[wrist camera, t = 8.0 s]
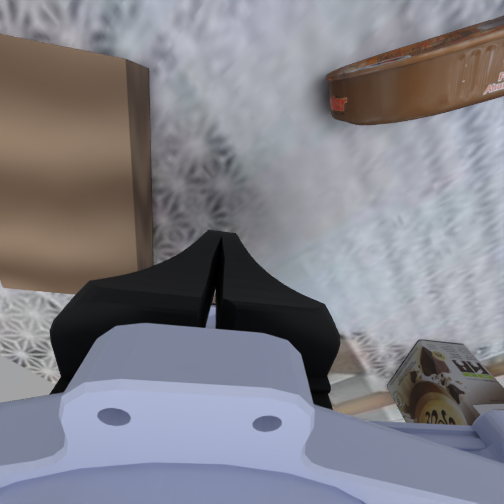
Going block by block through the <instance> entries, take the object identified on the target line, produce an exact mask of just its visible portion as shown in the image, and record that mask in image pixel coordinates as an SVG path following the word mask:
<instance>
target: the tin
mask: <svg viewBox="0 0 504 504" xmlns="http://www.w3.org/2000/svg"><path fill="white" fill-rule="evenodd" d="M326 79H327V80H328V84H329V95H330V107H331V113H332V116H333V117H334V118H335V119H337V120H340V121H345V122H349V123H351V124H355V125H376V124H387V123H395V122H402V121H408V120H414V119H419V118H423V117H428V116H433V115H437V114H441V113H445V112H449V111H453V110H456V109H460V108H463V107H467V106H470V105H474V104H478V103H481V102H485V101H488V100H492V99H495V98H499V97H502V96H504V16H502V17H499V18H496V19H493V20H489V21H486V22H482V23H479V24H476V25H472V26H469V27H467V28H463V29H460V30H456V31H453V32H450V33H447V34H444V35H441V36H438V37H434V38H431V39H428V40H425V41H422V42H418V43H415V44H412V45H409V46H406V47H402V48H399V49H396V50H393V51H390V52H386V53H383V54H380V55H377V56H374V57H371V58H368V59H364V60H362V61H359V62H356V63H353V64H350V65H347V66H345V67H342V68H339V69H337V70H335V71H333V72H331V73H329V74H328V75H327V76H326Z"/></svg>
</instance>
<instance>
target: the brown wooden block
mask: <svg viewBox="0 0 504 504" xmlns="http://www.w3.org/2000/svg"><path fill="white" fill-rule="evenodd" d="M151 266H153V227H152V183H151V140H150V96H149V68H146V67H144V66H141V65H139V64H137V63H134V62H132V61H130V60H127V59H124V58H119V57H114V56H109V55H104V54H99V53H94V52H89V51H84V50H79V49H73V48H68V47H63V46H58V45H53V44H48V43H43V42H38V41H33V40H28V39H23V38H18V37H13V36H8V35H3V34H0V280H1V283H2V286H3V288H12V289H23V290H33V291H44V292H54V293H65V294H77V292H78V291H79V290H80V289H81V288H82V287H83V286H84V285H85V284H86V283H87V282H88V281H89V280H97V279H103V278H109V277H114V276H120V275H124V274H128V273H132V272H136V271H140V270H143V269H146V268H149V267H151Z"/></svg>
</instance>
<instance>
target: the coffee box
mask: <svg viewBox="0 0 504 504" xmlns="http://www.w3.org/2000/svg"><path fill="white" fill-rule="evenodd" d="M387 388H388V389H389V391H390V393H391V395H392V397H393V399H394V401H395V403H396V405H397V406H398V409H399V410H400V412H401V414H402V416H403V418H404V420H405V422H406V423H424V424H445V425H466V426H472V425H473V423H474V421H475V420H476V419H477V418H478V417H479V416H480V415H481V414H483V413H485V412H487V411H490V410H504V388H503V387H502V386H501V384H500V383H499V382H498V381H497V380H496V379H495V378H494V377H493V376H492V375H491V374H490V373H489V372H488V370H487V369H486V368H485V367H484V366H483V365H482V364H481V363H480V362H479V361H478V360H477V359H476V357H475V356H474V355H473V354H472V353H471V352H470V351H469V350H468V349H467V348H466V346H464V345H459V344H450V343H442V342H433V341H424V340H420V341H418V342H417V344H416V345H415V347H414V348H413V350H412V351H411V353H410V354H409V355H408V357H407V358H406V360H405V361H404V363H403V364H402V365H401V367H400V368H399V370H398V371H397V373H396V374H395V375H394V377H393V378H392V380H391V381H390V382H389V384H388V385H387Z"/></svg>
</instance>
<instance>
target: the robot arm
mask: <svg viewBox="0 0 504 504" xmlns="http://www.w3.org/2000/svg"><path fill="white" fill-rule="evenodd" d="M215 288H216V305H211V304H212V300H213V296H214V292H215ZM50 339H51V344H52V348H53V351H54V354H55V358H56V361H57V365H58V368H59V371H60V375H61V378H60V379H59V381H58V382H57V384H56V385H55V387H54V389H53V390H52V391H51V393H50V394H49V395H45V396H39V397H32V398H27V399H21V400H14V401H8V402H2V403H0V504H504V410H490V411H487V412H485V413H483V414H481V415H480V416H479V417H478V418H477V419H476V420H475V421H474V423H473V425H472V426H466V425H445V424H424V423H403V422H382V421H366V420H363V419H359V418H356V417H353V416H350V415H347V414H343V413H340V412H337V411H334V410H333V409H332V405H331V402H330V399H329V396H328V393H330V391H331V386H330V383H329V380H328V377H327V375H328V373H329V371H330V369H331V366H332V364H333V362H334V360H335V358H336V356H337V354H338V351H339V347H340V335H339V332H338V330H337V328H336V325H335V323H334V321H333V319H332V316H331V314H330V313H329V311H328V309H327V307H326V305H325V304H323V303H321V302H318V301H316V300H314V299H311V298H309V297H307V296H304V295H302V294H300V293H298V292H296V291H295V290H293V289H291V288H289V287H287V286H286V285H284V284H282V283H281V282H280V281H278V280H277V279H275V278H274V277H272V276H271V275H270V274H269V273H267V272H266V271H265V270H264V269H263V268H262V267H261V266H260V265H259V264H258V263H257V262H256V261H255V260H254V259H253V258H252V257H251V255H250V254H249V253H248V251H247V250H246V248H245V247H244V245H243V244H242V242H241V241H240V239H239V237H238V235H237V234H236V233H229V232H222V231H214V230H208V231H207V232H205V233H204V234H203V235H202V236H201V237H200V238H199V239H198V240H197V241H196V242H194V243H193V244H192V245H191V246H189V247H188V248H187V249H185V250H184V251H182V252H181V253H179V254H178V255H176V256H174V257H172V258H170V259H168V260H166V261H164V262H162V263H159V264H157V265H154V266H151V267H149V268H146V269H143V270H140V271H136V272H132V273H128V274H124V275H120V276H114V277H109V278H103V279H97V280H89V281H88V282H87V283H86V284H85V285H84V286H83V287H82V288H81V289H80V290H79V291H78V292H77V294H76V295H75V296H74V297H73V298H72V299H71V301H70V302H69V303H68V304H67V305H66V306H65V308H64V309H63V310H62V311H61V312H60V314H59V315H58V316H57V317H56V318H55V319H54V321H53V323H52V326H51V329H50Z"/></svg>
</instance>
